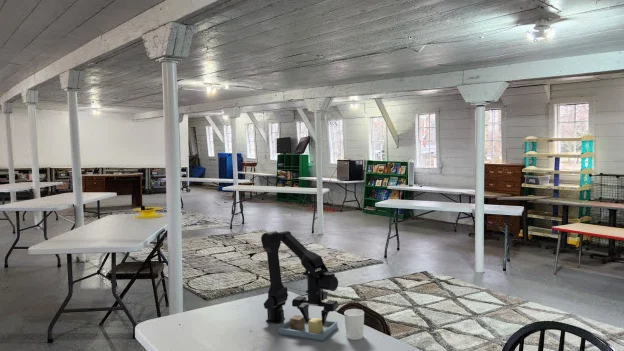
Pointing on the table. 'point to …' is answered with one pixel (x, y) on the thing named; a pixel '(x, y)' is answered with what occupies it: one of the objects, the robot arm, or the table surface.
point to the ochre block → (315, 325)
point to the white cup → (354, 323)
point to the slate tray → (304, 333)
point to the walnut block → (297, 322)
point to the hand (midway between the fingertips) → (315, 323)
